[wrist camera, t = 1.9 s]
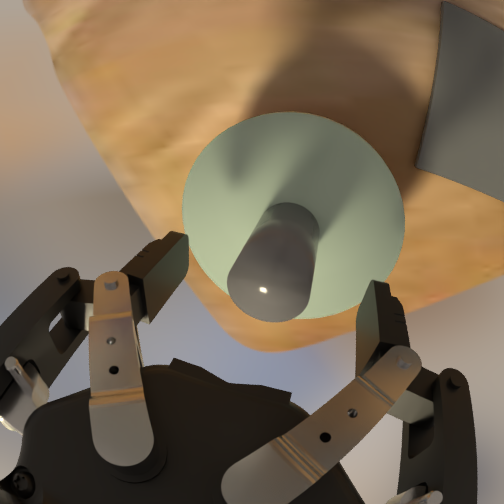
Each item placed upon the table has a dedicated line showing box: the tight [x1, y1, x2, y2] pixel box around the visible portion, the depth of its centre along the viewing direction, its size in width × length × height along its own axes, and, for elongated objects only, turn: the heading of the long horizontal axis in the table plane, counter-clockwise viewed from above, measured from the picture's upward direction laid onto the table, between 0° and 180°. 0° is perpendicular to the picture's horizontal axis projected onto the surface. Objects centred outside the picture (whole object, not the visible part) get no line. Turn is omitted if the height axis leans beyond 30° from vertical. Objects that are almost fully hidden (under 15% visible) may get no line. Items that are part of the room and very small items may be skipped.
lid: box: [182, 111, 405, 322], centre depth 14 cm, size 12×12×6 cm
